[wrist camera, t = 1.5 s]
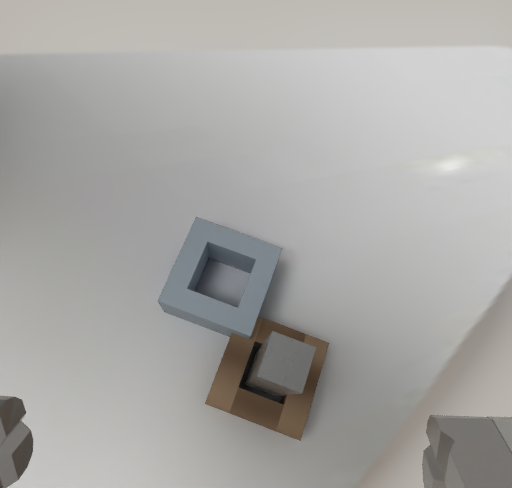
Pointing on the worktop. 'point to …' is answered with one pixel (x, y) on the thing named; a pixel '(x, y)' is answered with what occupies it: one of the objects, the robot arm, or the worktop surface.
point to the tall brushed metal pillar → (281, 365)
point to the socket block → (255, 406)
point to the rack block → (228, 252)
